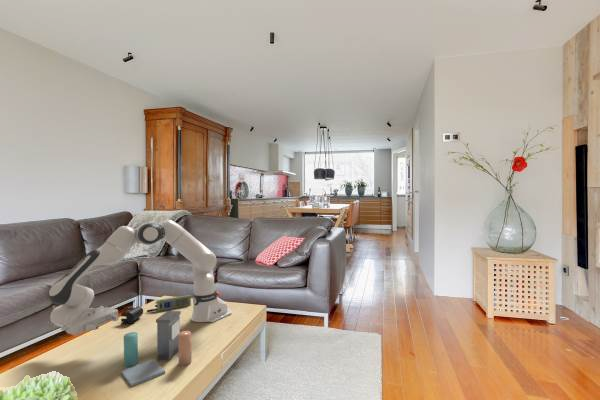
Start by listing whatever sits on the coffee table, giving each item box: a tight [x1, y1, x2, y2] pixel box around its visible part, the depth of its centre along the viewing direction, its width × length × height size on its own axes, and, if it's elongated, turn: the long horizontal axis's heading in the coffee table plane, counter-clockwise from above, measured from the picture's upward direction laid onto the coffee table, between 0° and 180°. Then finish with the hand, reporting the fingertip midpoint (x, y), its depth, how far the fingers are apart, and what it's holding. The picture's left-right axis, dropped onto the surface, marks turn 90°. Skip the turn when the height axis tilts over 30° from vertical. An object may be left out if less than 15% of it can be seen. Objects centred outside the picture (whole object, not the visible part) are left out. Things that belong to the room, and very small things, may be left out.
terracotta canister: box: [177, 330, 192, 366], centre depth 128 cm, size 5×5×12 cm
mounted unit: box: [155, 310, 182, 362], centre depth 134 cm, size 10×6×17 cm, turn 176°
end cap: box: [120, 305, 144, 325], centre depth 172 cm, size 10×7×7 cm
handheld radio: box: [146, 294, 192, 313], centre depth 190 cm, size 7×3×25 cm
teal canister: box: [123, 331, 139, 368], centre depth 127 cm, size 5×5×12 cm
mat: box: [120, 359, 166, 387], centre depth 120 cm, size 12×12×1 cm
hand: (107, 323), depth 131 cm, fingers open, 8 cm apart
